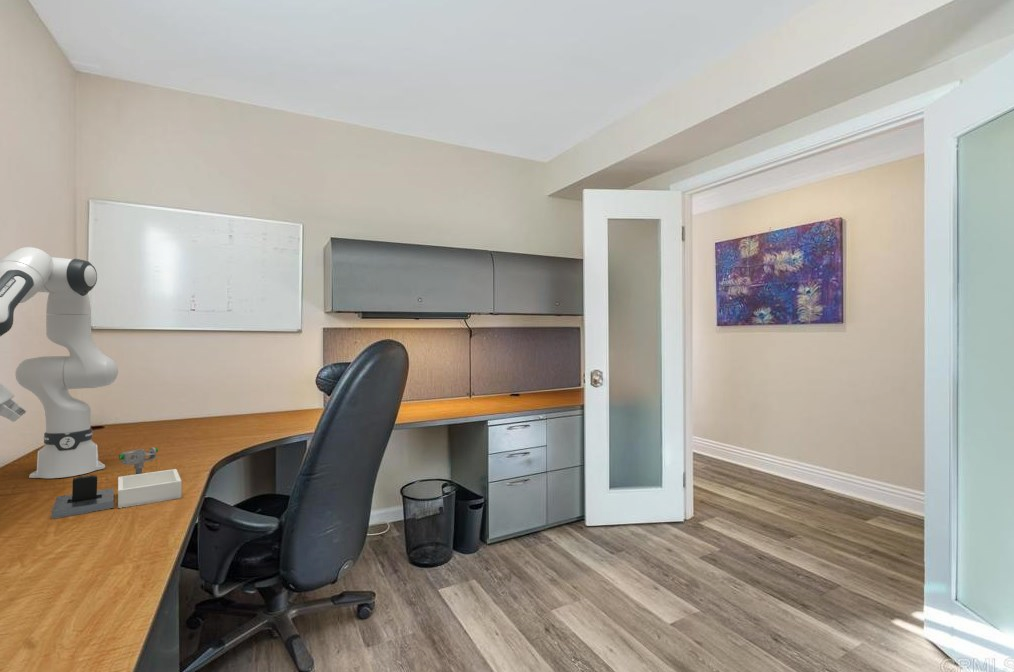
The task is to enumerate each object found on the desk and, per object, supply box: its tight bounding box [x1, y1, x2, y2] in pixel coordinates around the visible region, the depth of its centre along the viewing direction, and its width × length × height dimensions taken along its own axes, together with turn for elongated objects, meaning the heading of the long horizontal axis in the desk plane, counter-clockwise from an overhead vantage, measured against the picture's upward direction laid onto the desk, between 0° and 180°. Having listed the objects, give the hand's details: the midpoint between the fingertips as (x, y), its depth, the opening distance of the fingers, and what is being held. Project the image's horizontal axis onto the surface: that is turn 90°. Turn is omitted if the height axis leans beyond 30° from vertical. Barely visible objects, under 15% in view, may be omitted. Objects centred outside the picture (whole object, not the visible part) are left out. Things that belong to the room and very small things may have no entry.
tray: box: [117, 468, 182, 509], centre depth 139 cm, size 16×14×5 cm
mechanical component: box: [118, 447, 159, 475], centre depth 152 cm, size 3×10×10 cm, turn 155°
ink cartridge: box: [71, 474, 98, 503], centre depth 131 cm, size 5×2×8 cm, turn 128°
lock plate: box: [51, 487, 115, 520], centre depth 131 cm, size 14×12×2 cm
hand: (20, 416), depth 123 cm, fingers open, 8 cm apart
